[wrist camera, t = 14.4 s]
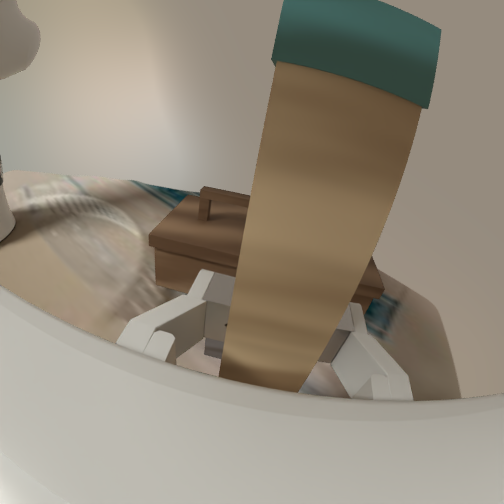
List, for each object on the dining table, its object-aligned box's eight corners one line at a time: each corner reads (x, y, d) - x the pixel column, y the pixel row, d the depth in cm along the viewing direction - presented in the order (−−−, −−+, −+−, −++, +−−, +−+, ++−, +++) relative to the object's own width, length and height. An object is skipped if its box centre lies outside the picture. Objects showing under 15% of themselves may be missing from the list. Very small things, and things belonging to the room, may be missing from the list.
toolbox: (366, 383, 26) (423, 308, 20) (123, 328, 27) (107, 235, 20) (346, 275, 43) (372, 212, 37) (185, 237, 44) (190, 169, 38)
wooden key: (263, 465, 13) (481, 41, 2) (193, 450, 14) (250, -40, 3) (271, 409, 17) (405, 60, 6) (209, 396, 17) (272, 22, 6)
